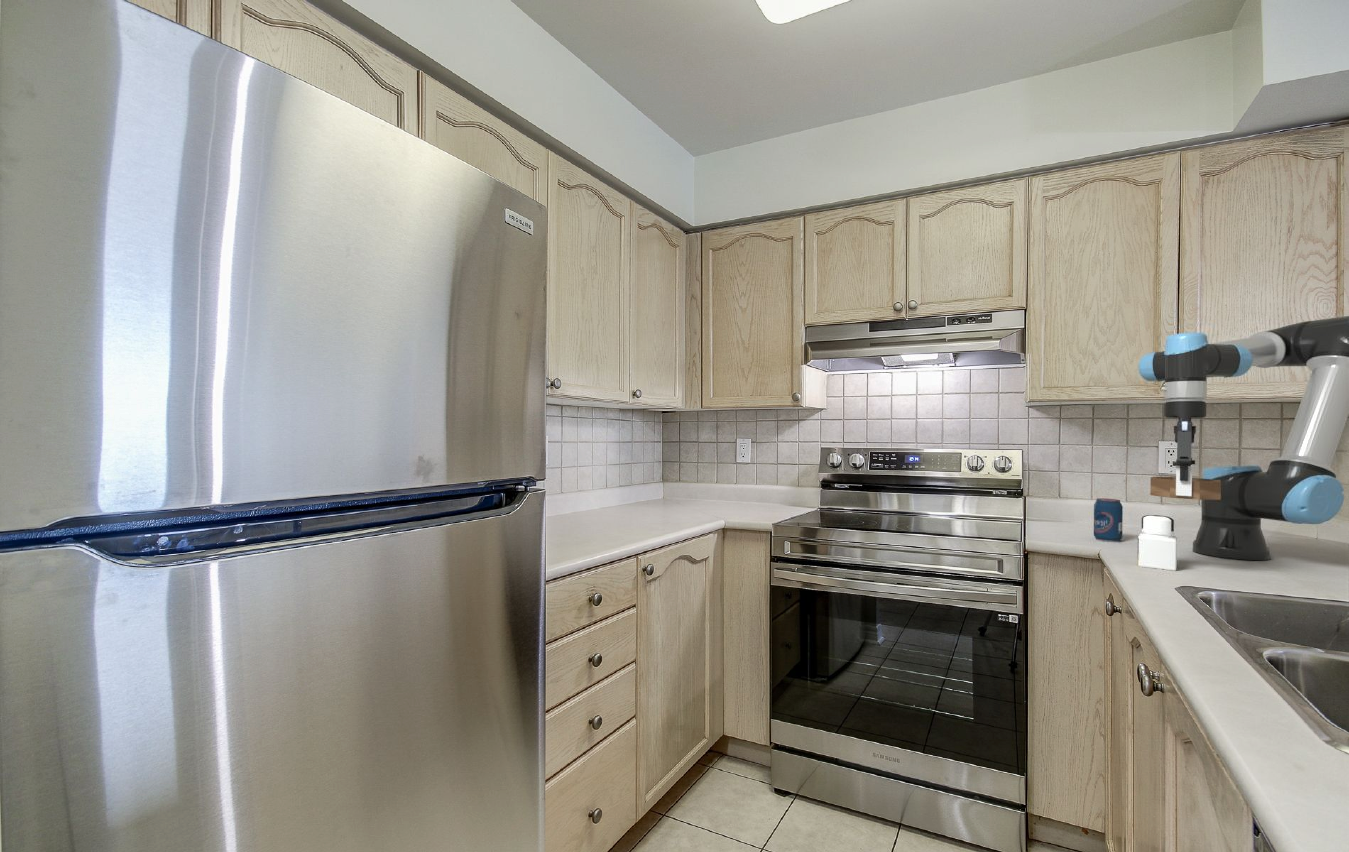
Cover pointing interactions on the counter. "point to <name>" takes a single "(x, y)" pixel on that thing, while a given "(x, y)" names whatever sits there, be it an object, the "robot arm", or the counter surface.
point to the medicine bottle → (1157, 543)
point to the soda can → (1108, 520)
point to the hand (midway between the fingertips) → (1183, 493)
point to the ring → (1200, 488)
